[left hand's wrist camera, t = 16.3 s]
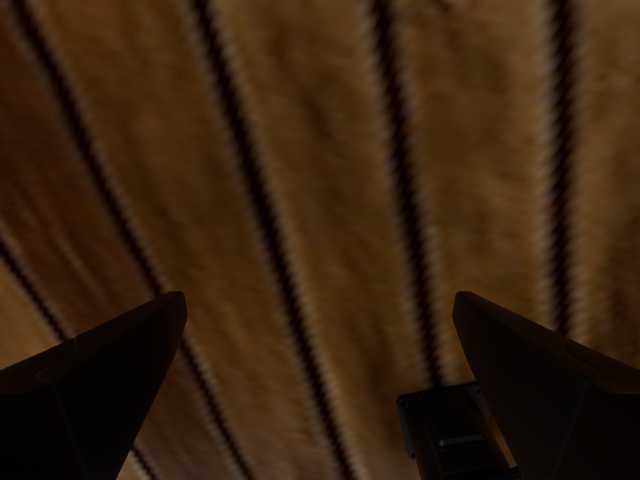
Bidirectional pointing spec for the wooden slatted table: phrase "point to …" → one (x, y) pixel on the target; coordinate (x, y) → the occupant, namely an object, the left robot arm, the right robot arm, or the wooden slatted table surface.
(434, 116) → the wooden slatted table surface
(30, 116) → the wooden slatted table surface
